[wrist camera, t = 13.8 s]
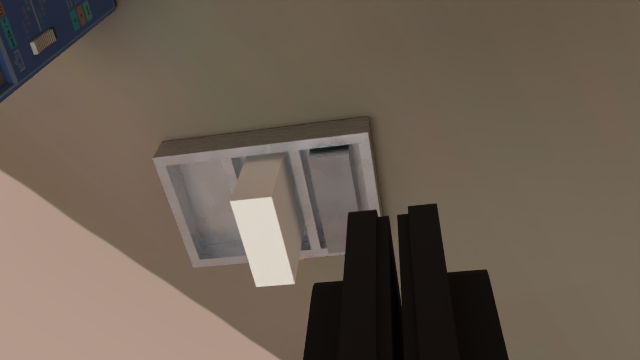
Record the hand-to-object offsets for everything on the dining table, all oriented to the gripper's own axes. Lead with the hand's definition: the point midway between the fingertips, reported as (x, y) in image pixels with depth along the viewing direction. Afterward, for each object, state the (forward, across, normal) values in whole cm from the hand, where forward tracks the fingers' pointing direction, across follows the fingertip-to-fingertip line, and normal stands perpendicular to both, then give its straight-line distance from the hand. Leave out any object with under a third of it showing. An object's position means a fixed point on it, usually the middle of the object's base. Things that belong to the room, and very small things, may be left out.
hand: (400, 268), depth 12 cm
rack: (+32, +11, +18) cm, 38 cm away
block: (+32, +11, +18) cm, 38 cm away
